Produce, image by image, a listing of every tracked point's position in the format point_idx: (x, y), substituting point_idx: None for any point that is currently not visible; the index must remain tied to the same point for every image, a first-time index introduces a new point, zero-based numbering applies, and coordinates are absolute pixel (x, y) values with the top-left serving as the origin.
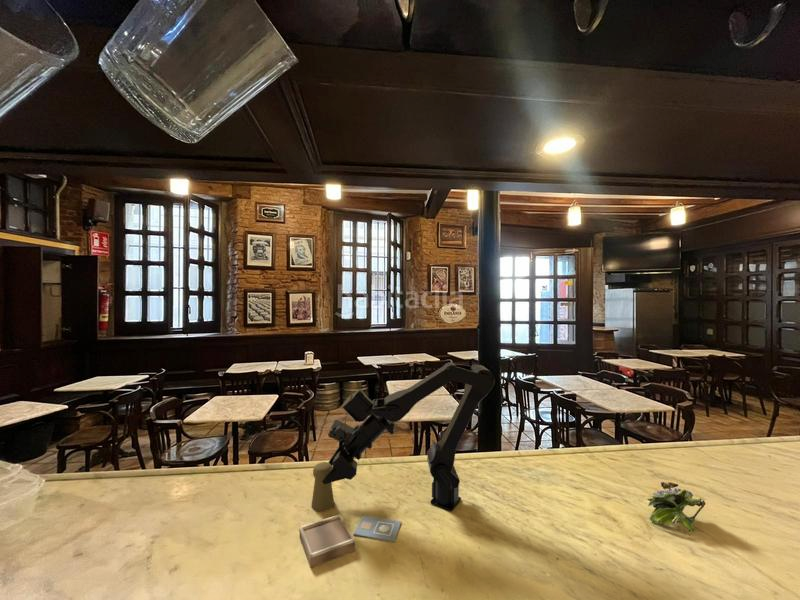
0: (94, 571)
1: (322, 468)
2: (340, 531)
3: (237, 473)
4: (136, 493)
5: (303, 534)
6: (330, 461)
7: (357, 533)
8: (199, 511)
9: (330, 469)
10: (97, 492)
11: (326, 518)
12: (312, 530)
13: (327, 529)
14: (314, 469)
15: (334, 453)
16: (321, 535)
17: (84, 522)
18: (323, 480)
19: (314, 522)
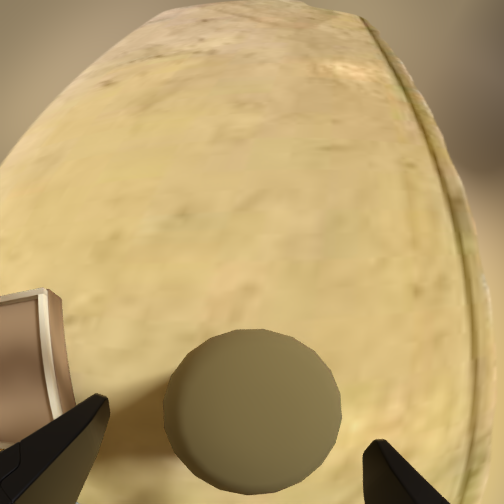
0: (160, 32)
1: (194, 413)
2: (2, 423)
3: (419, 141)
4: (337, 41)
5: (8, 296)
6: (380, 461)
7: None
8: (274, 83)
9: (208, 481)
10: (338, 25)
11: (52, 393)
12: (28, 332)
13: (19, 385)
14: (230, 336)
15: (423, 499)
16: (1, 357)
17: (273, 18)
18: (83, 401)
19: (45, 342)
